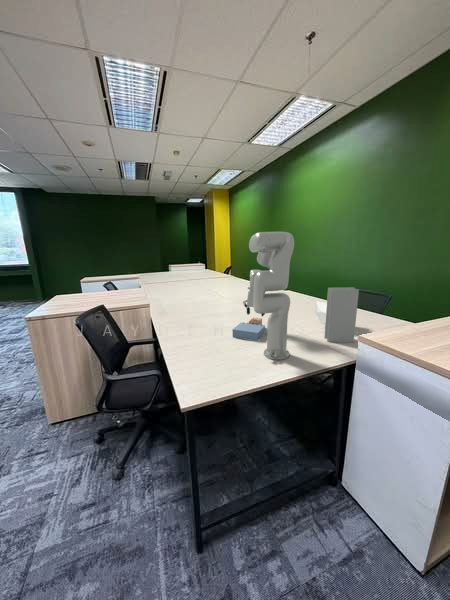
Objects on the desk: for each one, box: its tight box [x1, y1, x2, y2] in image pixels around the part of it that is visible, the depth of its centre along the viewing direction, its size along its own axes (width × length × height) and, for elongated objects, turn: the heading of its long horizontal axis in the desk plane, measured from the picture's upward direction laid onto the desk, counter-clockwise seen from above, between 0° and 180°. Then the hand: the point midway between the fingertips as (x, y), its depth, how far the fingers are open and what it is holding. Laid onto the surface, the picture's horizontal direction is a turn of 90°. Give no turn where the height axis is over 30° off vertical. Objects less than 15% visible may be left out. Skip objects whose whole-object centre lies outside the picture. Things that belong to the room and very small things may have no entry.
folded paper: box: [315, 300, 327, 325], centre depth 160 cm, size 17×24×17 cm
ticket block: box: [232, 322, 266, 342], centre depth 148 cm, size 15×16×5 cm
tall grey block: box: [323, 287, 360, 343], centre depth 135 cm, size 14×6×30 cm, turn 84°
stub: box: [248, 317, 263, 325], centre depth 159 cm, size 9×6×6 cm, turn 154°
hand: (255, 315), depth 158 cm, fingers open, 9 cm apart
